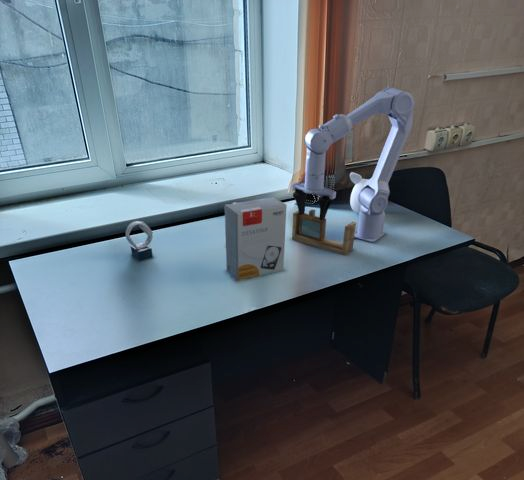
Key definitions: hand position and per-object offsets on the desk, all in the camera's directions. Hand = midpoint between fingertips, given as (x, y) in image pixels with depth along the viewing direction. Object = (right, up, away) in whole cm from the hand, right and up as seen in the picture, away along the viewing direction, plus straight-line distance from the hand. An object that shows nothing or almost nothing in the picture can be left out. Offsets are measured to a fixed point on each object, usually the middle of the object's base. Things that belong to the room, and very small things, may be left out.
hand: (311, 216), depth 153 cm
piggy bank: (+22, +8, +27) cm, 35 cm away
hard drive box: (-18, -19, -11) cm, 29 cm away
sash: (0, -6, +4) cm, 7 cm away
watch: (-53, -13, -4) cm, 55 cm away
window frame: (+4, -8, +4) cm, 10 cm away
